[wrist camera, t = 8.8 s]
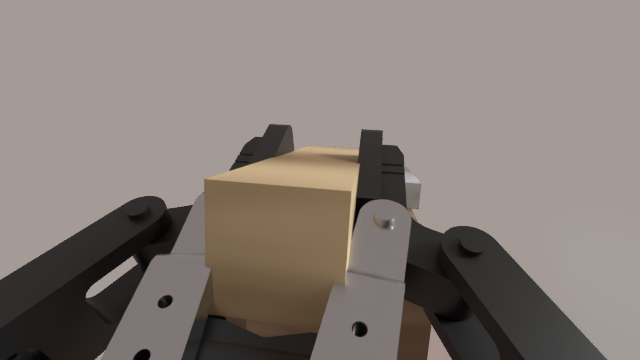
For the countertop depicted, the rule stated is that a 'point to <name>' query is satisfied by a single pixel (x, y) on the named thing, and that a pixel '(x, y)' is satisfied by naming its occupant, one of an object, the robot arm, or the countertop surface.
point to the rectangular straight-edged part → (284, 234)
